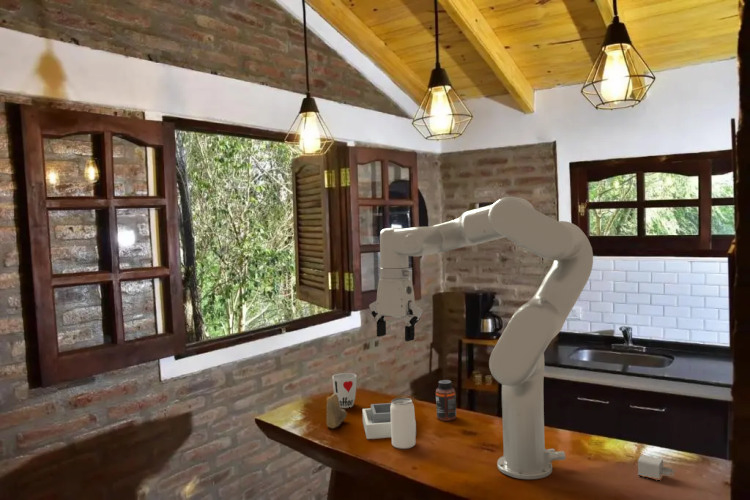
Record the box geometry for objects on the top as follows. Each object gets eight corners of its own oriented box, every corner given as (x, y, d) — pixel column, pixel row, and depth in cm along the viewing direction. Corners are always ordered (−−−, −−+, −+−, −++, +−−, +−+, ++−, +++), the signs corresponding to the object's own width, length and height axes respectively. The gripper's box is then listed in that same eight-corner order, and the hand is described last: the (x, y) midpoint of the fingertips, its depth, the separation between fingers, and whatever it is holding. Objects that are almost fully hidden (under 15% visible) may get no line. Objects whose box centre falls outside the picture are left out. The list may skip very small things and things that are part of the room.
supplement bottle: (459, 416, 167) (458, 380, 167) (451, 422, 162) (450, 385, 162) (441, 413, 171) (440, 378, 170) (433, 419, 166) (432, 382, 165)
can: (414, 450, 143) (412, 404, 143) (389, 449, 144) (388, 404, 144) (417, 440, 149) (415, 397, 149) (393, 439, 151) (392, 396, 150)
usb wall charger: (642, 470, 126) (642, 453, 126) (676, 478, 122) (676, 460, 122) (638, 477, 123) (637, 459, 123) (672, 485, 119) (672, 467, 118)
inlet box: (408, 418, 167) (407, 399, 167) (416, 435, 153) (415, 414, 153) (362, 421, 166) (362, 402, 166) (366, 439, 152) (365, 417, 152)
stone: (334, 431, 159) (333, 397, 159) (320, 429, 161) (319, 396, 161) (348, 421, 167) (347, 389, 167) (335, 419, 169) (333, 387, 169)
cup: (330, 409, 179) (329, 379, 179) (336, 401, 187) (335, 372, 187) (355, 409, 178) (353, 379, 177) (359, 402, 186) (358, 373, 185)
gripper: (429, 274, 142) (429, 339, 143) (379, 271, 153) (379, 332, 154) (412, 277, 136) (412, 345, 137) (361, 273, 148) (361, 336, 148)
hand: (395, 338), depth 146 cm, fingers open, 9 cm apart
